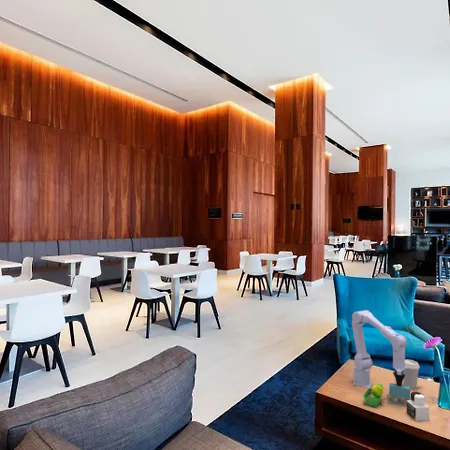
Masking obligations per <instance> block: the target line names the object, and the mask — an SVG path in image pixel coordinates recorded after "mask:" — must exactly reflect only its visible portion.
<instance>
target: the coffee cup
mask: <svg viewBox="0 0 450 450" xmlns="http://www.w3.org/2000/svg"><path fill="white" fill-rule="evenodd" d="M405 366H406V367H407V369H405V370H404V371H403V374H405V377H404V379H403V385H404V386H410V390H417V386H418V377H419V369H420V365H419V363H418V361H415V360H413V359H405Z"/></svg>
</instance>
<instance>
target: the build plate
mask: <svg viewBox="0 0 450 450" xmlns="http://www.w3.org/2000/svg"><path fill="white" fill-rule="evenodd" d="M410 400H411V398H410ZM386 403H387V404H391V405H395V406H402V407H405V408H407V404H404V403H401V397H397V402H394V401H389V393H388V394H387V395H386Z"/></svg>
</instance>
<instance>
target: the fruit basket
mask: <svg viewBox="0 0 450 450" xmlns="http://www.w3.org/2000/svg"><path fill="white" fill-rule="evenodd" d="M383 391H384V386H383V385H382V383H377V384H376V385H373V386H372V387H370V388H368V387H367V390H366V391H365V392H364V394H363V399H364V403H365V405H367V406H371V407H373V408H377V407H378V406H379V404H380V402H381V399H382V397H383V394H384V392H383Z"/></svg>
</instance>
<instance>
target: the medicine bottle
mask: <svg viewBox="0 0 450 450" xmlns="http://www.w3.org/2000/svg"><path fill="white" fill-rule="evenodd" d="M425 398H426V397H425V395H424V394H423V393H421V392H419V391H410V399H411V400H407V407H406V414H407V416H409V417H410V418H411V419H413V421H415V422H423V421H424V422H427V421H430V407H429V405H427V404H426V402H425Z"/></svg>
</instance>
